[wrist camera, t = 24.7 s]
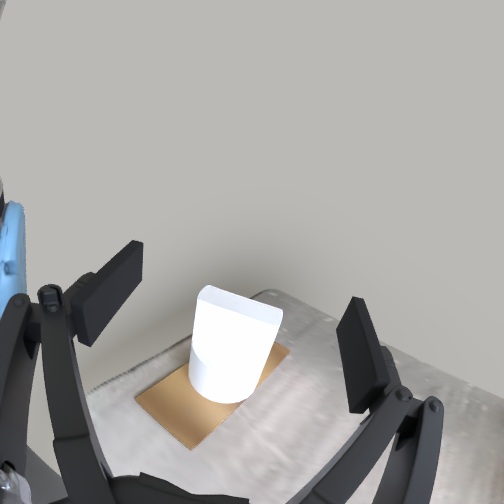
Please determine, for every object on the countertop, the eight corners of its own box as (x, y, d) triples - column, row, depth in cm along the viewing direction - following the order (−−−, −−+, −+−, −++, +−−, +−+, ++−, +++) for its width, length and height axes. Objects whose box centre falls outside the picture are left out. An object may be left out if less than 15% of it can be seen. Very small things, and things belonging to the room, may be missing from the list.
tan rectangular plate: (191, 450, 24) (191, 449, 24) (134, 399, 28) (134, 398, 27) (289, 352, 41) (290, 350, 41) (242, 323, 45) (243, 322, 45)
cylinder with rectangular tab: (176, 386, 31) (182, 314, 26) (203, 342, 39) (215, 272, 34) (246, 413, 30) (274, 346, 24) (263, 363, 38) (288, 295, 32)
